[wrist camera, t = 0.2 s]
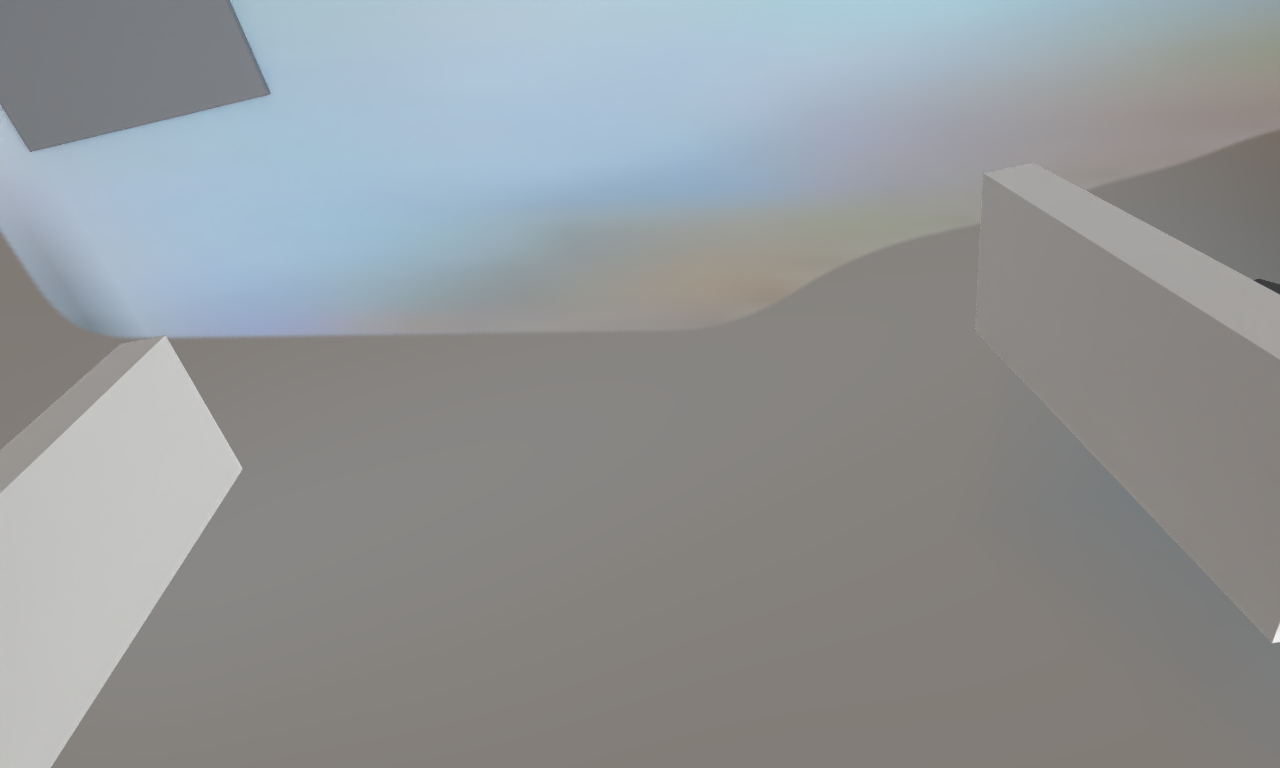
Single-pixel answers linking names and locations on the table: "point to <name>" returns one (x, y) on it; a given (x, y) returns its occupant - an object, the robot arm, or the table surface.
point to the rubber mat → (118, 64)
